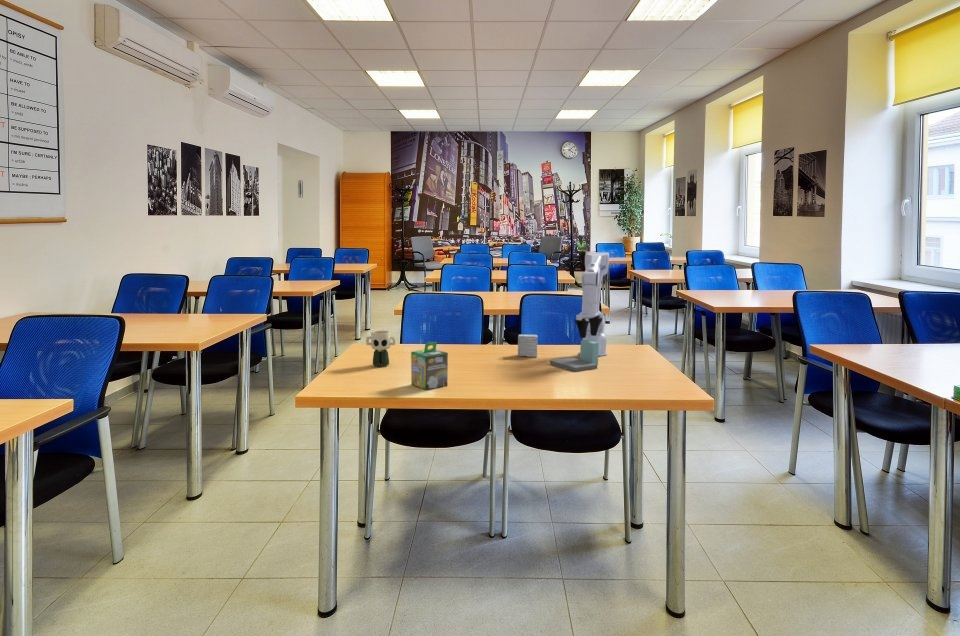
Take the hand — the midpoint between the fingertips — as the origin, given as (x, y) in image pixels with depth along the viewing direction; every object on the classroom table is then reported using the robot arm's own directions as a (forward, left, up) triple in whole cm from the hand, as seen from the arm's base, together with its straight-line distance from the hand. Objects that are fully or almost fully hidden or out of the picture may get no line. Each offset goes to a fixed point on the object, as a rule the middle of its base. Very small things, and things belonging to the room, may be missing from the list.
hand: (588, 336), depth 252 cm
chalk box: (+72, +2, -11) cm, 73 cm away
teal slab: (+2, +3, -10) cm, 11 cm away
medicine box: (+14, -21, -11) cm, 27 cm away
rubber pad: (+10, +3, -10) cm, 15 cm away
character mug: (+74, -33, -11) cm, 82 cm away
